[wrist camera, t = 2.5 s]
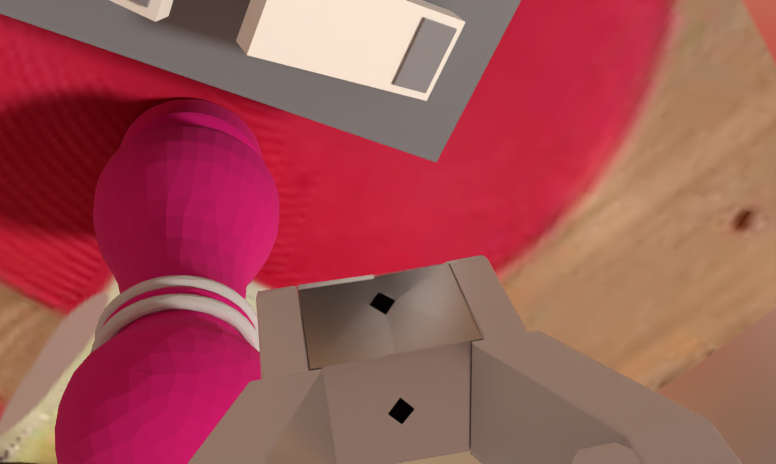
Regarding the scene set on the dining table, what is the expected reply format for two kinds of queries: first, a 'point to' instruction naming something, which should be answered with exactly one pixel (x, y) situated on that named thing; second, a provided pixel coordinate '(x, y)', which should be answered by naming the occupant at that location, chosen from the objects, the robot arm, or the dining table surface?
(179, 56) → the breaker panel
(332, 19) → the paddle
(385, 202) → the dining table surface
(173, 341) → the pepper mill
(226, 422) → the robot arm
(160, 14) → the paddle on
